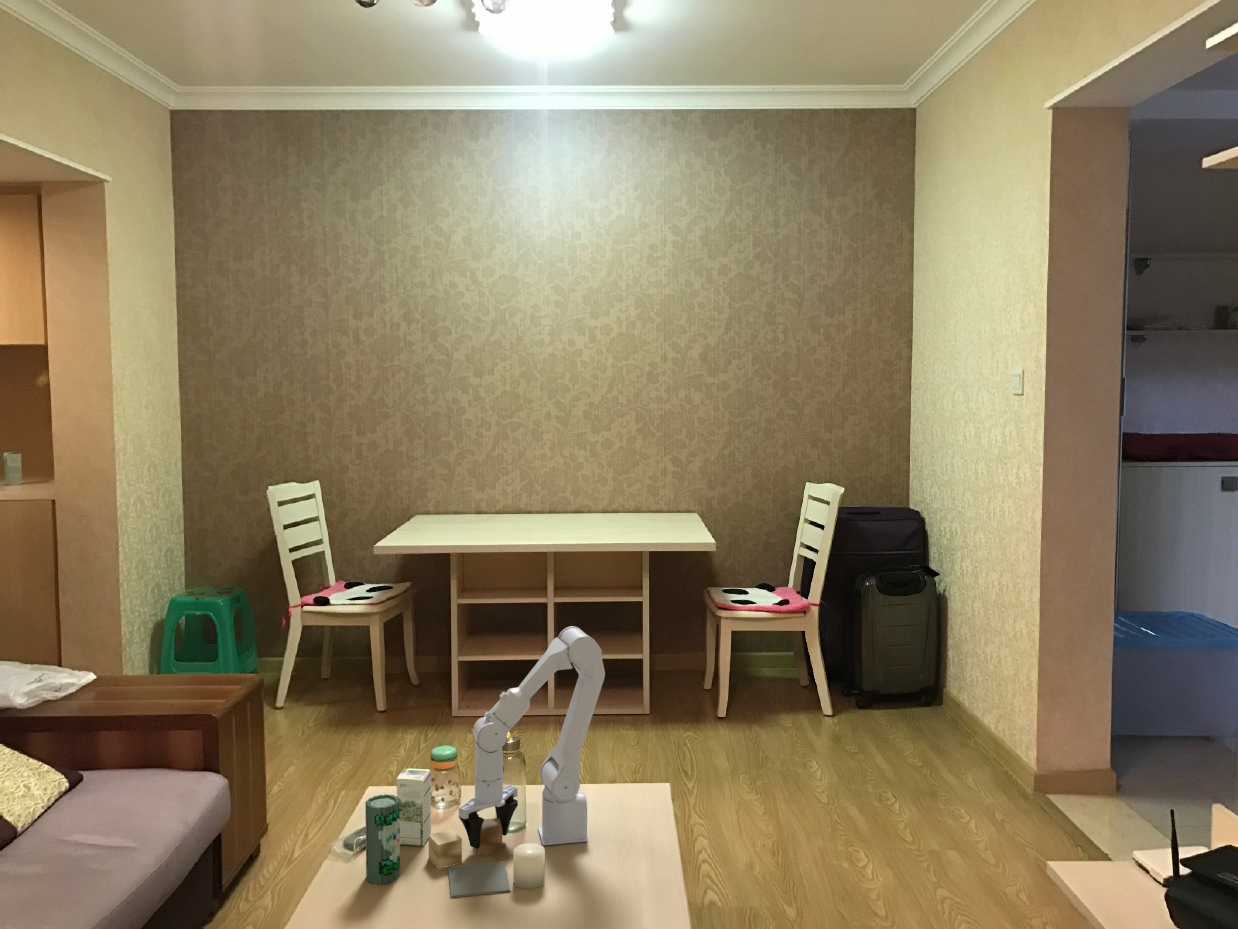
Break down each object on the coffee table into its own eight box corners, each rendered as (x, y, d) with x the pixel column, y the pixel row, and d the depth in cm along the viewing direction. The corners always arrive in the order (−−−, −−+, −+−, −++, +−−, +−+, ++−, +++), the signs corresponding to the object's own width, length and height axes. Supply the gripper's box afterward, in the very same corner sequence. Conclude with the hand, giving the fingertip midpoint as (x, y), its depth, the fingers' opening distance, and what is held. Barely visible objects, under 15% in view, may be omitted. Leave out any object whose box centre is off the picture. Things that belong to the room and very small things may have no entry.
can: (390, 886, 181) (390, 809, 180) (361, 882, 183) (360, 806, 181) (404, 870, 187) (403, 796, 186) (375, 867, 188) (375, 793, 187)
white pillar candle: (542, 871, 188) (542, 842, 187) (546, 887, 182) (546, 856, 181) (511, 874, 186) (511, 844, 186) (515, 890, 180) (515, 859, 180)
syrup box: (431, 834, 202) (431, 768, 201) (423, 847, 197) (422, 779, 195) (405, 833, 203) (405, 766, 202) (396, 846, 197) (395, 777, 196)
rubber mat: (504, 863, 190) (504, 861, 190) (510, 892, 180) (510, 889, 180) (448, 868, 188) (448, 866, 188) (451, 898, 177) (450, 895, 177)
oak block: (451, 852, 195) (451, 829, 194) (461, 863, 191) (461, 839, 190) (428, 859, 192) (428, 835, 192) (438, 869, 188) (438, 845, 188)
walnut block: (499, 841, 200) (499, 817, 200) (502, 852, 195) (502, 828, 195) (475, 843, 199) (475, 820, 199) (477, 854, 194) (477, 830, 194)
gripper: (475, 793, 188) (475, 859, 189) (527, 771, 199) (527, 834, 200) (451, 783, 192) (451, 848, 194) (504, 762, 204) (504, 824, 205)
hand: (488, 840), depth 197 cm, fingers open, 7 cm apart
